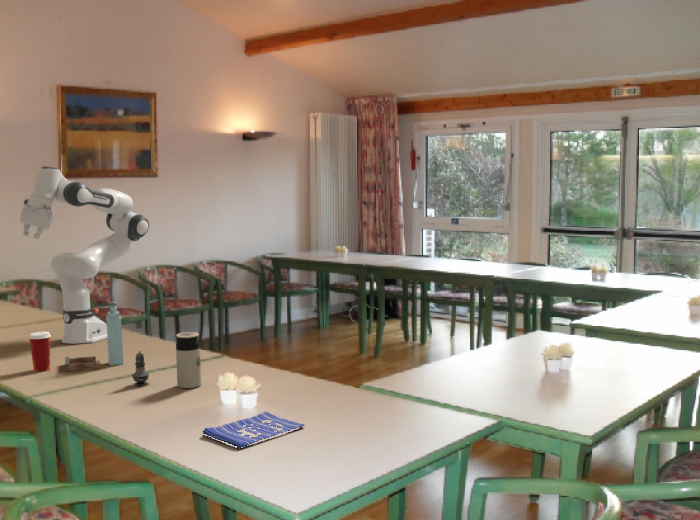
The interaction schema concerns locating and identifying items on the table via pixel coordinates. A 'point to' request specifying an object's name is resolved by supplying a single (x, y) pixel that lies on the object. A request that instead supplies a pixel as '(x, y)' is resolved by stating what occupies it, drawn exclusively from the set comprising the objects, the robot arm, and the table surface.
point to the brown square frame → (81, 363)
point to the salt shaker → (140, 372)
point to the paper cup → (40, 350)
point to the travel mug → (188, 360)
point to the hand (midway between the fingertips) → (30, 236)
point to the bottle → (114, 336)
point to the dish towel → (232, 436)
